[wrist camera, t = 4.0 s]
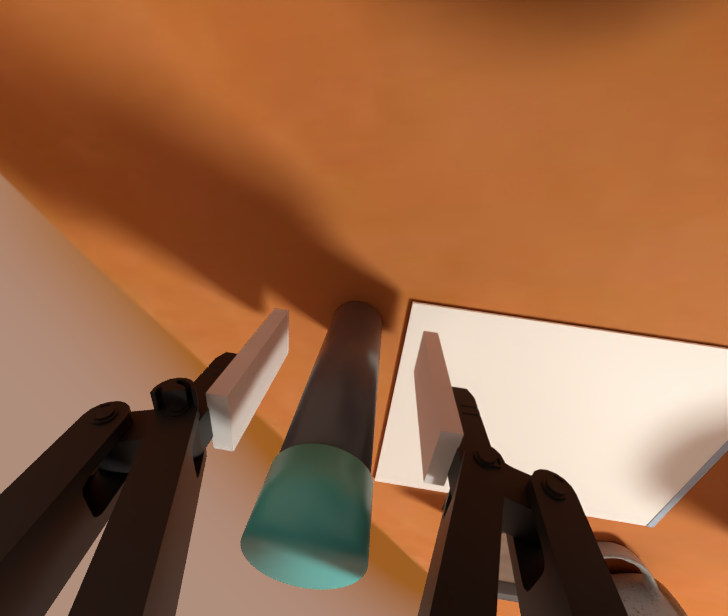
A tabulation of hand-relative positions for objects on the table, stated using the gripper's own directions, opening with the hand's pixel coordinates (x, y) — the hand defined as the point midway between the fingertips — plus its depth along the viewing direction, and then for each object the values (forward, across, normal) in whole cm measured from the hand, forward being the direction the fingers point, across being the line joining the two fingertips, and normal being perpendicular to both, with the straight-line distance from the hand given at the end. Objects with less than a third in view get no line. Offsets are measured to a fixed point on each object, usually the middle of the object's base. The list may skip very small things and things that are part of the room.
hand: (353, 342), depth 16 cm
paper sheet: (+2, +14, -6) cm, 15 cm away
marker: (+2, 0, 0) cm, 2 cm away
